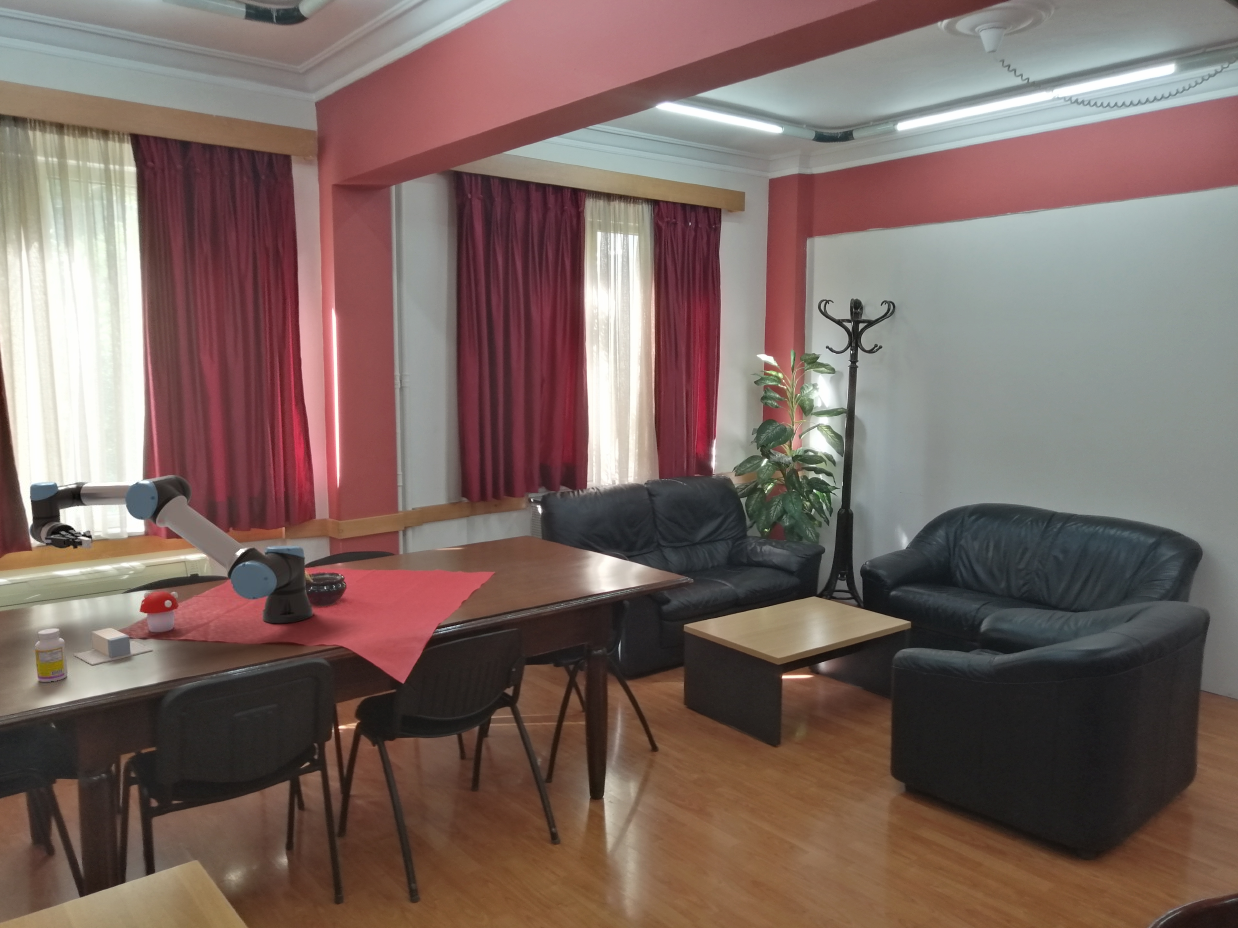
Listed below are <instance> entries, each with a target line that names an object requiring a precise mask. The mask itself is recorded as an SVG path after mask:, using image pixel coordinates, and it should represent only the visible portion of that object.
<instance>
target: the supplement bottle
mask: <svg viewBox="0 0 1238 928" xmlns="http://www.w3.org/2000/svg"><path fill="white" fill-rule="evenodd" d="M60 634H61V633H60V629H59V628H46V629H41V630H39V631H38V633H37V635H38V638H39V640H38V641H37V642H36V643H35V645H34V652H35V661H36V673H37V680H38V681H39V682H41V683H52V682H51V681H54V682H58V681H61V680H64V679H65V678H66V677H67V676H68V665H67V654H66V652H67V651H66V642H65V640H64V639H63V638H61V637H60ZM57 680H58V681H57Z"/></svg>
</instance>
